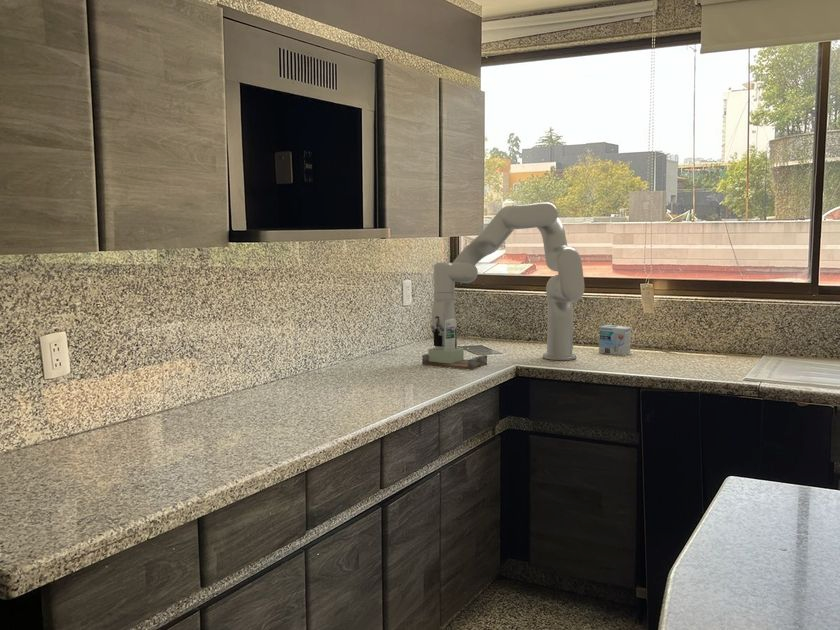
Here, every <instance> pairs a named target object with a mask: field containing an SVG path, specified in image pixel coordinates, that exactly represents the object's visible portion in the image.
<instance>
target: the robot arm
mask: <svg viewBox="0 0 840 630" xmlns="http://www.w3.org/2000/svg"><path fill="white" fill-rule="evenodd" d="M558 216H559V211H558V208H557V207H556V205H554V204H553V203H552V202H548V201H545V202H539V201H538V202H533V203H530V204H520V205H519V204H518V205H506V206H503V207H501V208H500V210H499V211H498V212H497V213H496V215H494V217H493V218H492V219H491V221H489V222H488V224H487V226H486V227H485V228H484V229H483V230H482V231H481V232H480V234H479V235H478V236H477V237H475V238H474V239H473V240H472V241H471V242H470V243H469V244H468V245H466V247H464V248H463V249H462V251H460V253H459V254H458V255H457V257H456V258H455V259H454V260H453V261H452V262H447V261H444V262H443V261H442V262H436V263H435V264H434V265H433V303H432V309H431V323H430V327H431V331H432V335H433V347H435V346H438V347H441V346H442V335H441V334H442V330H443V329H444V328H445V321H446V320H449V319H452V318H454V319H456V309H455V307H456V306H455V298H456V297H455V296H456V295H455V290H456V288H455V285H456V283H464V284H469V283H472V282H474V281H475V280H476V279H477V277H478V273H479V271H478V268H477V266H476V265H477V264H478V263H479V262H480V261H481V260H482V259H484V258H485V257H487V256H489V255H491V254H494V253H495V252H496V251H498V250H499V249H500V247H502V245H503V244H504V243H505V242H506V240H507V239H508V238H509V236H510V235H511V234H512V233H513V232H514V231H515V230H523V229H526V230H527V229H533V228H537V229H538V230H539V232H540V234H541V238H542V243H543V251H544V259H545V264H546V266H547V268H548V269H549V270H551V271H553V272H557V274H555V275H553V276H551V277H550V278H549V279H548V281H547V283H546V286H545V291H546V292H545V293H546V300H547V323H546V324H547V328H546V329H547V331H546V332H547V333H546V336H547V337H546V338H547V339H546V340H547V341H546V352H544V353H543V354H542V359H543V358H544V360H545V359H546V360H551V361H573V360H576V359H577V354H575V353H573V349H574V346H573V343H574V342H573V339H574V338H573V336H574V333H573V332H574V331H573V330H574V305H573V303H576V302H577V301H580V300H581V298H582V297H583V296H584V293H585V277H584V271H583V270H584V269H583V262H582V257H581V255H580V253H579V252H578V250H577V249H575V248H573V247H571V246H568V242H567V241H568V240H567V237H566V236H567V235H566V232H565V227H564V225H563V223H562V221H561V220H560V218H559V217H558ZM438 326H439V327H438ZM438 329H439V331H438Z"/></svg>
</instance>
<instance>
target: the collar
mask: <svg viewBox="0 0 840 630" xmlns="http://www.w3.org/2000/svg"><path fill="white" fill-rule="evenodd" d="M464 350H465V349H464V347H457V349H455V350H452V351H446V350H435V347H432V348H428V353H427V354H428V361H430V362H439V363H449V364H452V363H455V362H458V361H461V360H465V359H464V357H465V356H464V354H465V351H464Z"/></svg>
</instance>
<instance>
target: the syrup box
mask: <svg viewBox="0 0 840 630" xmlns="http://www.w3.org/2000/svg"><path fill="white" fill-rule="evenodd" d="M457 326H458V325H457V319H456V318H455V319H454V318H452V319H449V320H446V321H445V328H444V329H443V330H442V334H441V335H442V346H441V347H438V346H434V348H435V350H446V351H452V350H455V349H457V345H458V344H457V342H458V341H457V340H458V337H457V336H458V334H457V333H458V332H457V330H458V329H457ZM438 327H439V326H438ZM438 331H439V329H438Z"/></svg>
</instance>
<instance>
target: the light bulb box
mask: <svg viewBox="0 0 840 630" xmlns="http://www.w3.org/2000/svg"><path fill="white" fill-rule="evenodd" d="M631 338H632V327H631V326H624V325H611V324H610V325H609V324H604V325H601V326H599V340H598V341H599V343H598V354H603V353H607V354H606V355H612V354H617V355H616V356H620V355H625V356H627V354H628V355H630V354H631V341H632V340H631ZM629 353H630V354H629Z"/></svg>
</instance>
